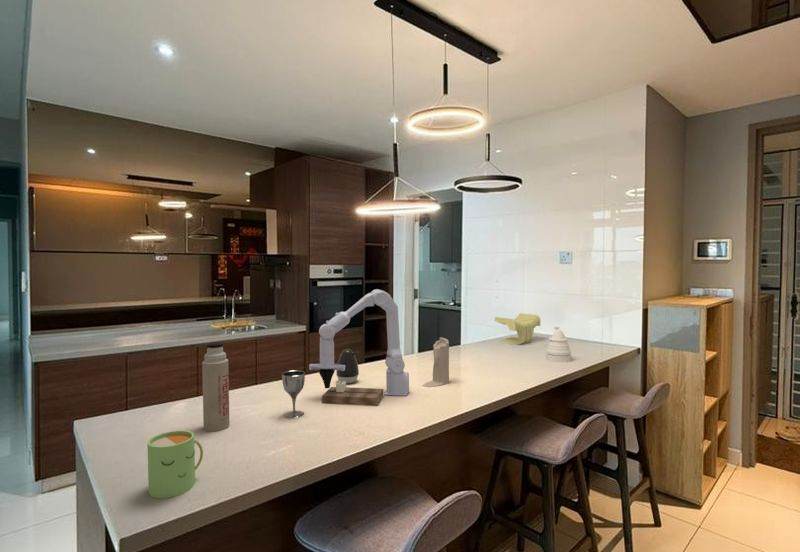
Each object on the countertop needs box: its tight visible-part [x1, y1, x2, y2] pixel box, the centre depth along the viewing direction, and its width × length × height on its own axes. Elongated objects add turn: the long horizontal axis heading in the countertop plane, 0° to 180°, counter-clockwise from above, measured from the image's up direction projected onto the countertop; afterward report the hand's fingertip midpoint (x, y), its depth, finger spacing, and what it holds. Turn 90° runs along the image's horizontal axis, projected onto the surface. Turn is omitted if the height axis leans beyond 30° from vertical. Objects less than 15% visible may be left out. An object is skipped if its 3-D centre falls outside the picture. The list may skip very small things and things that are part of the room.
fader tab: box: [335, 380, 347, 392], centre depth 172 cm, size 3×4×3 cm
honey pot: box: [545, 326, 572, 363], centre depth 239 cm, size 13×13×18 cm
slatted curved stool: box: [494, 312, 541, 345], centre depth 291 cm, size 30×16×18 cm, turn 131°
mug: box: [147, 430, 204, 499], centre depth 106 cm, size 13×10×12 cm
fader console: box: [321, 386, 384, 407], centre depth 172 cm, size 22×12×3 cm, turn 81°
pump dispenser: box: [335, 348, 360, 385], centre depth 197 cm, size 10×10×15 cm
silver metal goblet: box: [281, 369, 306, 419], centre depth 155 cm, size 8×8×15 cm
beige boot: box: [422, 336, 450, 388], centre depth 193 cm, size 7×14×20 cm, turn 131°
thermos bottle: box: [201, 342, 231, 433], centre depth 144 cm, size 8×8×28 cm
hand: (327, 387), depth 173 cm, fingers closed
